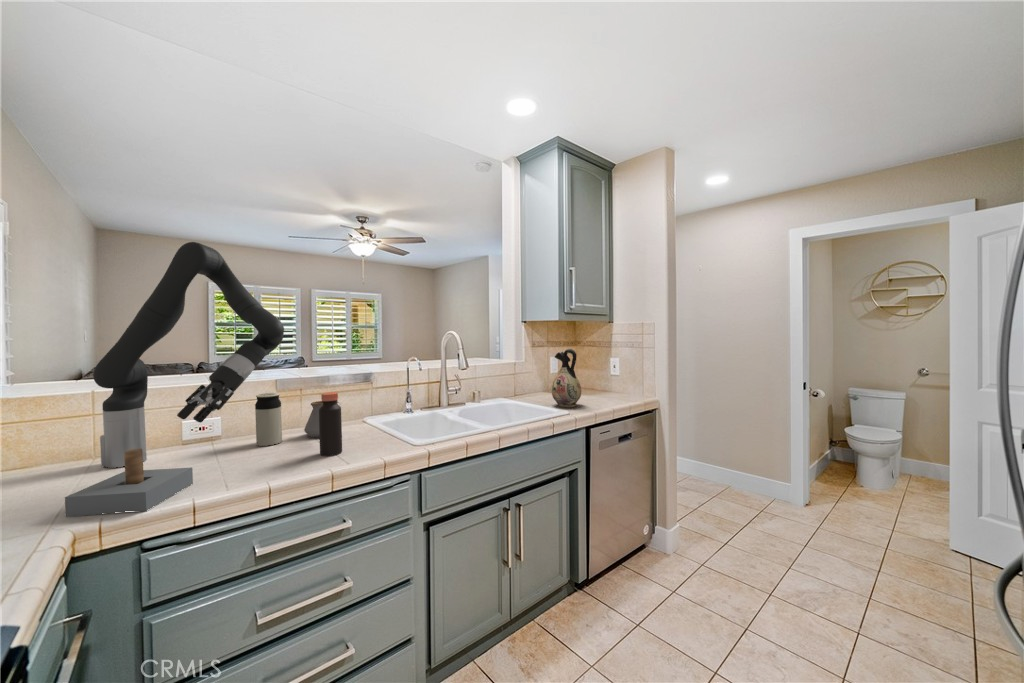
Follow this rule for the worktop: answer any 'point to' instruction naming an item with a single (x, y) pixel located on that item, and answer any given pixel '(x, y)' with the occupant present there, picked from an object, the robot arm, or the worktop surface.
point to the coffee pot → (314, 420)
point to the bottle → (330, 425)
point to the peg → (134, 466)
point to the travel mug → (268, 419)
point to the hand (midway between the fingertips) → (188, 419)
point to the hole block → (128, 492)
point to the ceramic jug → (566, 382)
